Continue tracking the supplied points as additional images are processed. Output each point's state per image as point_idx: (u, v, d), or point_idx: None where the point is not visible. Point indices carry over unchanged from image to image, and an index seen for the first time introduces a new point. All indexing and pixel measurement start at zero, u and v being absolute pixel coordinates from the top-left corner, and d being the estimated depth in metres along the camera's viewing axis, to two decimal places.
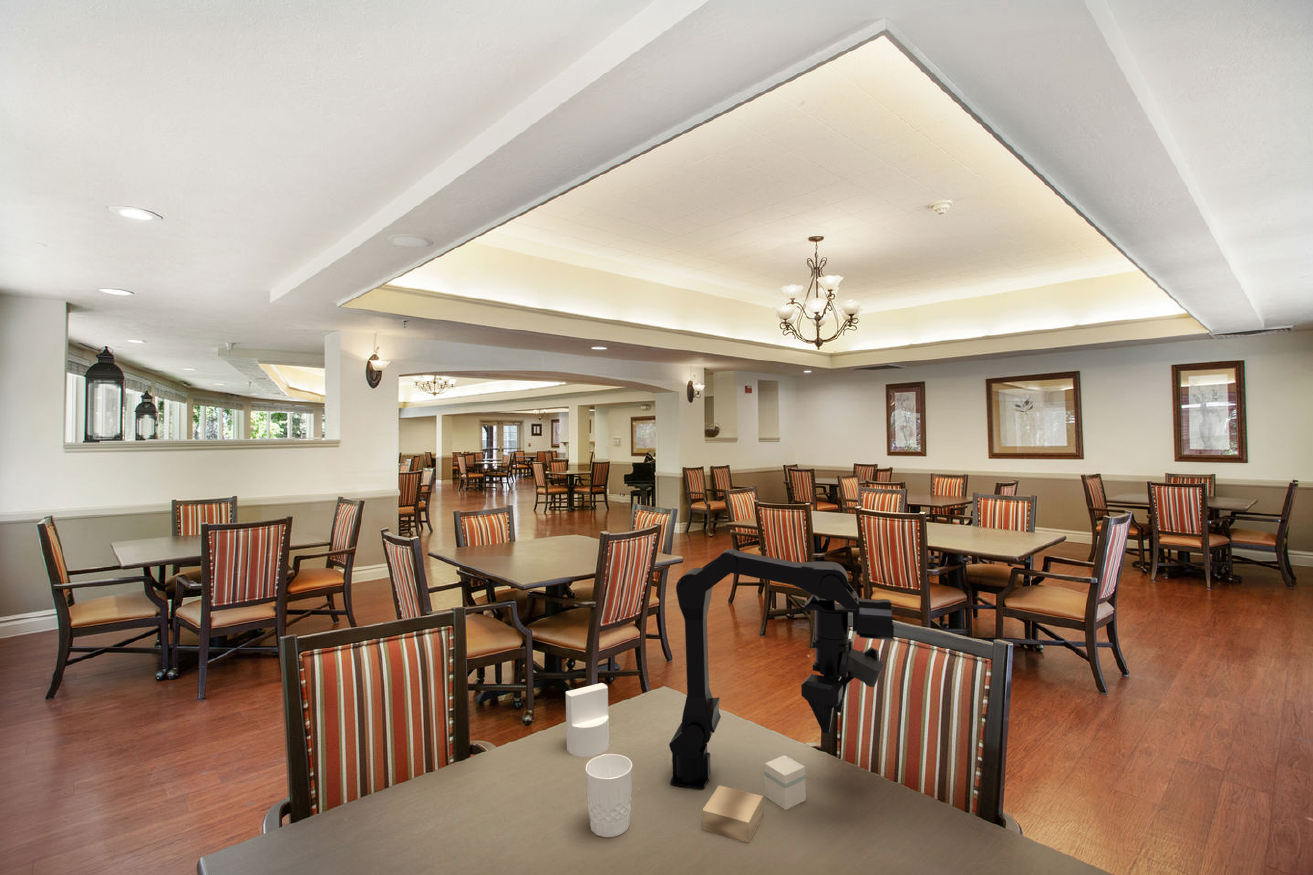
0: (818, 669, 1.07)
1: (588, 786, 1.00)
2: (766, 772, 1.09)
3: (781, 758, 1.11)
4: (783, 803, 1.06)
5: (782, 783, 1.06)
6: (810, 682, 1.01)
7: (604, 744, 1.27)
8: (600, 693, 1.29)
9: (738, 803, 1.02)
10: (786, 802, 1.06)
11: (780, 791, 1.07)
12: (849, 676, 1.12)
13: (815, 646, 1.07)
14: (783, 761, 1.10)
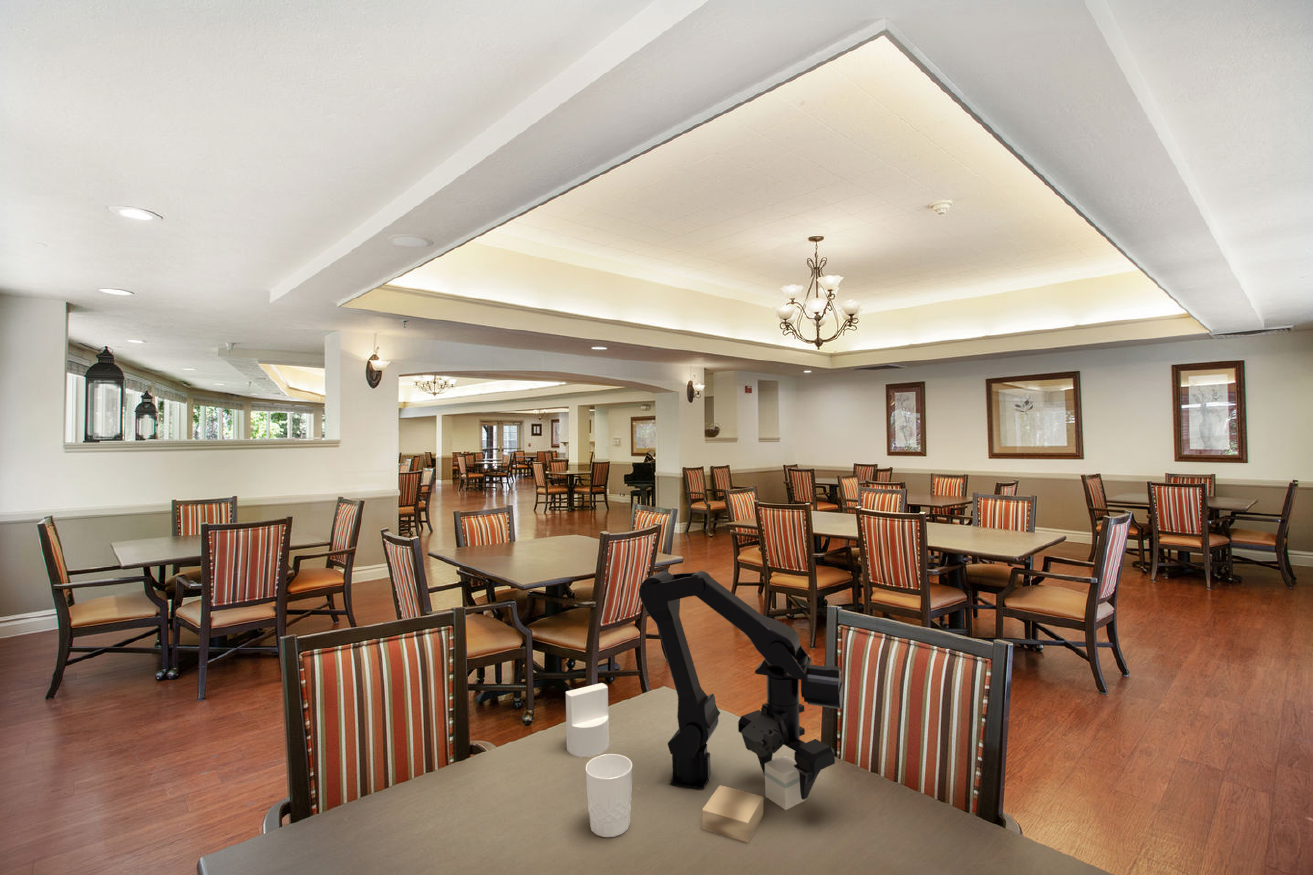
0: None
1: (588, 786, 1.00)
2: (766, 772, 1.09)
3: (781, 758, 1.11)
4: (783, 803, 1.06)
5: (782, 783, 1.06)
6: (755, 711, 1.17)
7: (604, 744, 1.27)
8: (600, 693, 1.29)
9: (738, 803, 1.02)
10: (785, 802, 1.06)
11: (780, 791, 1.07)
12: None
13: None
14: (783, 761, 1.10)
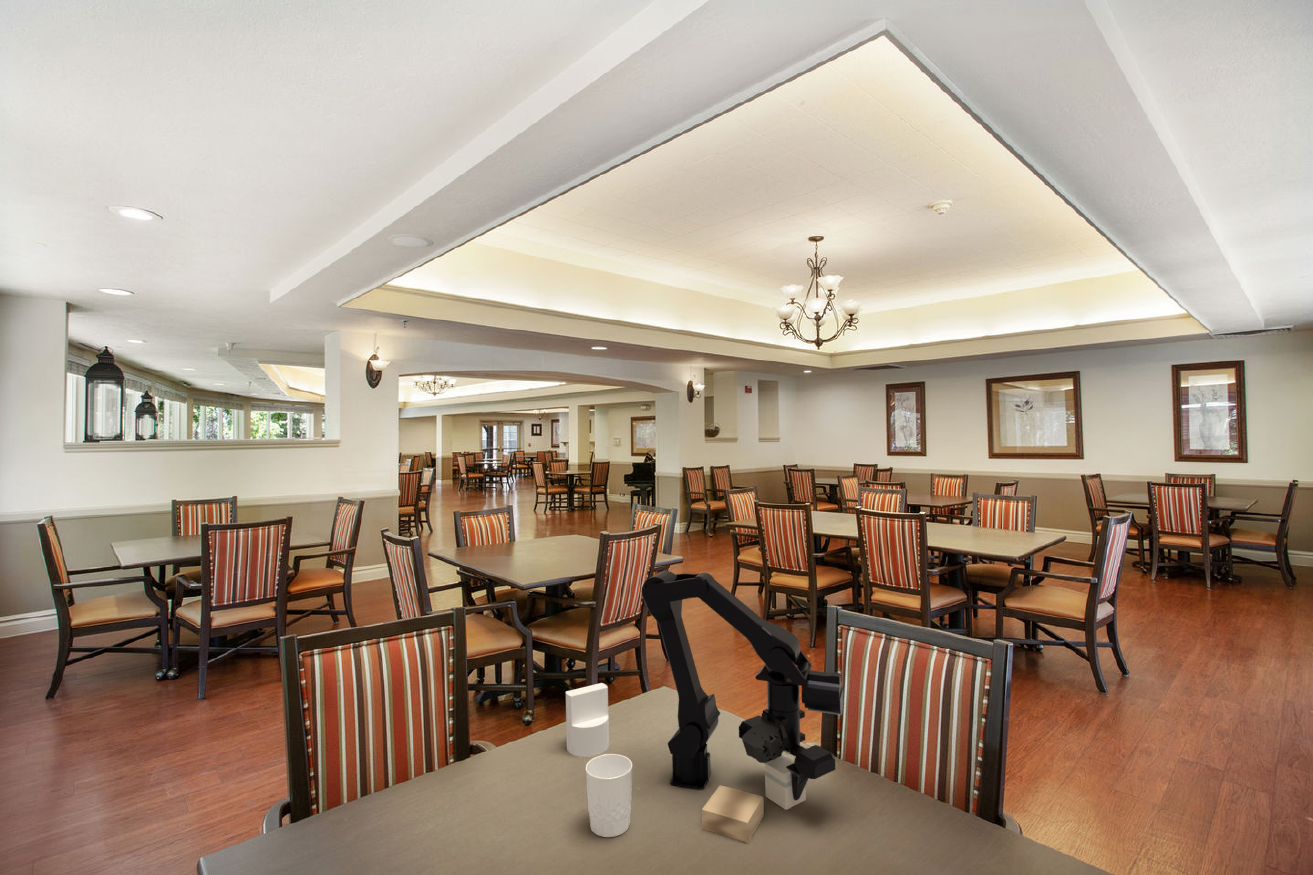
0: None
1: (588, 786, 1.00)
2: (766, 772, 1.09)
3: (781, 758, 1.11)
4: (783, 803, 1.06)
5: (782, 783, 1.06)
6: None
7: (604, 744, 1.27)
8: (600, 693, 1.29)
9: (738, 803, 1.02)
10: (786, 802, 1.06)
11: (780, 791, 1.07)
12: None
13: None
14: (783, 760, 1.10)
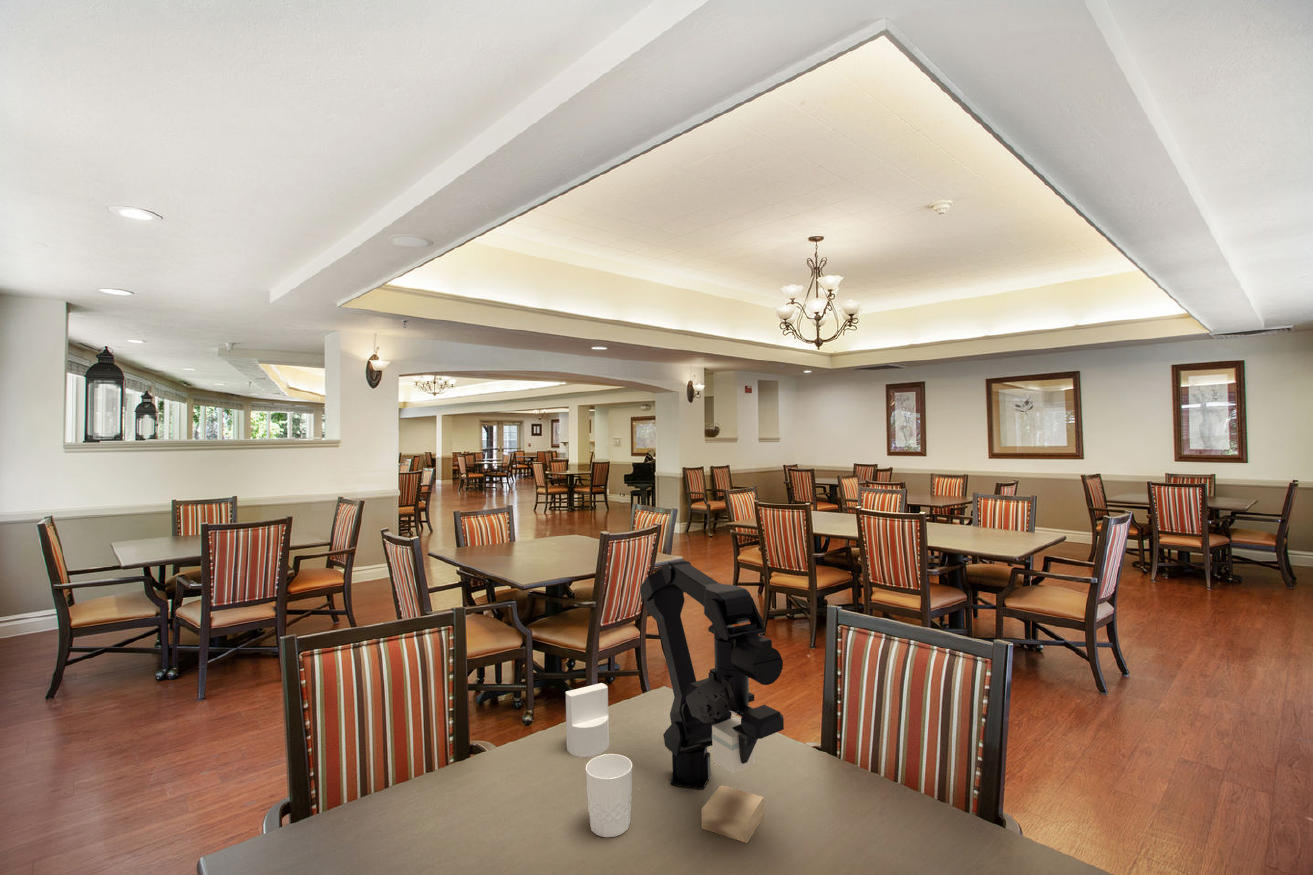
0: None
1: (588, 786, 1.00)
2: (713, 735, 1.03)
3: (730, 720, 1.05)
4: (730, 766, 1.00)
5: (729, 745, 1.00)
6: (705, 679, 1.11)
7: (604, 744, 1.27)
8: (600, 693, 1.29)
9: (738, 803, 1.02)
10: (732, 765, 0.99)
11: (727, 754, 1.00)
12: None
13: None
14: (731, 723, 1.04)
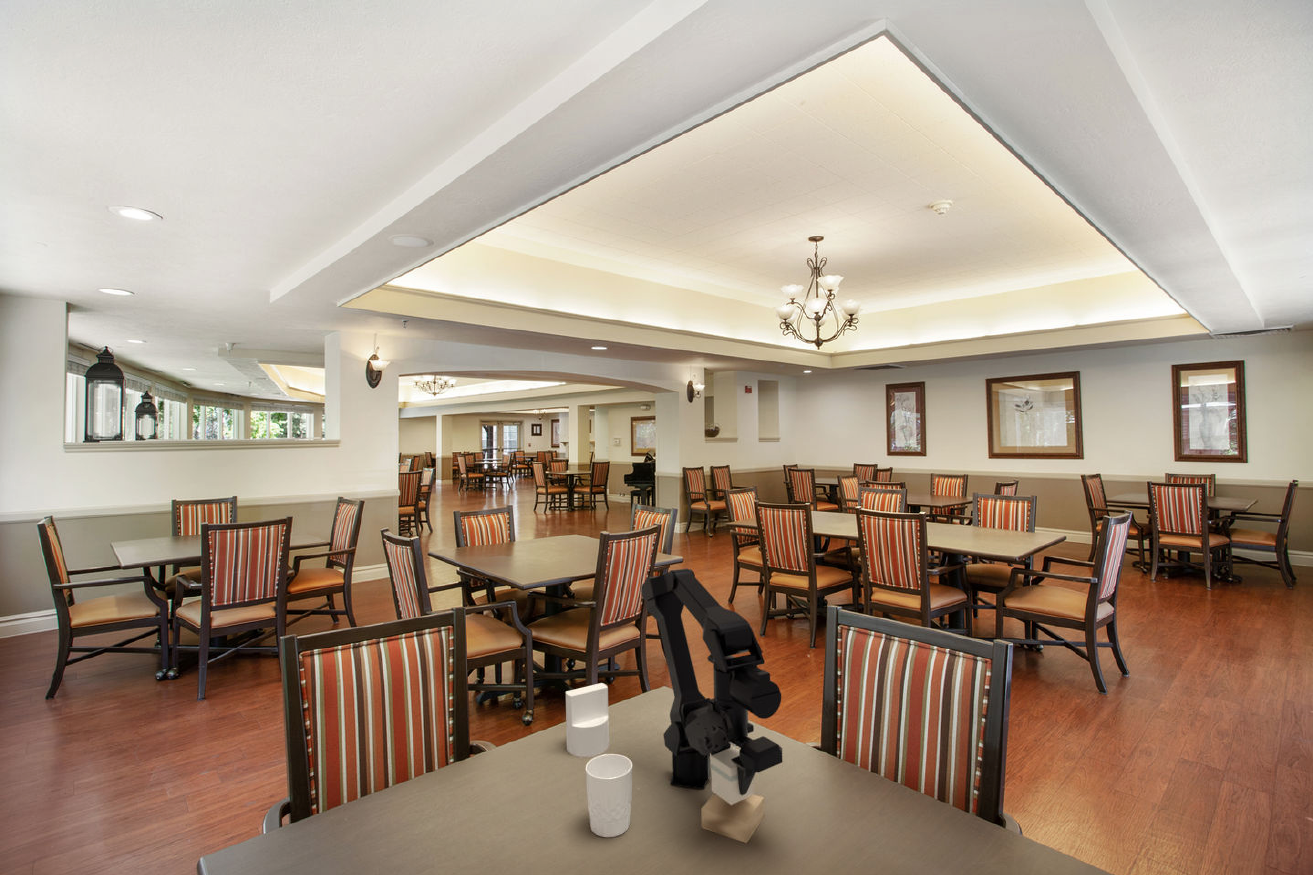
0: None
1: (588, 786, 1.00)
2: (712, 765, 1.03)
3: (729, 750, 1.05)
4: (728, 797, 1.00)
5: (727, 776, 1.00)
6: (705, 706, 1.11)
7: (604, 744, 1.27)
8: (600, 693, 1.29)
9: (738, 804, 1.02)
10: (731, 796, 0.99)
11: (725, 785, 1.00)
12: None
13: None
14: (731, 753, 1.04)
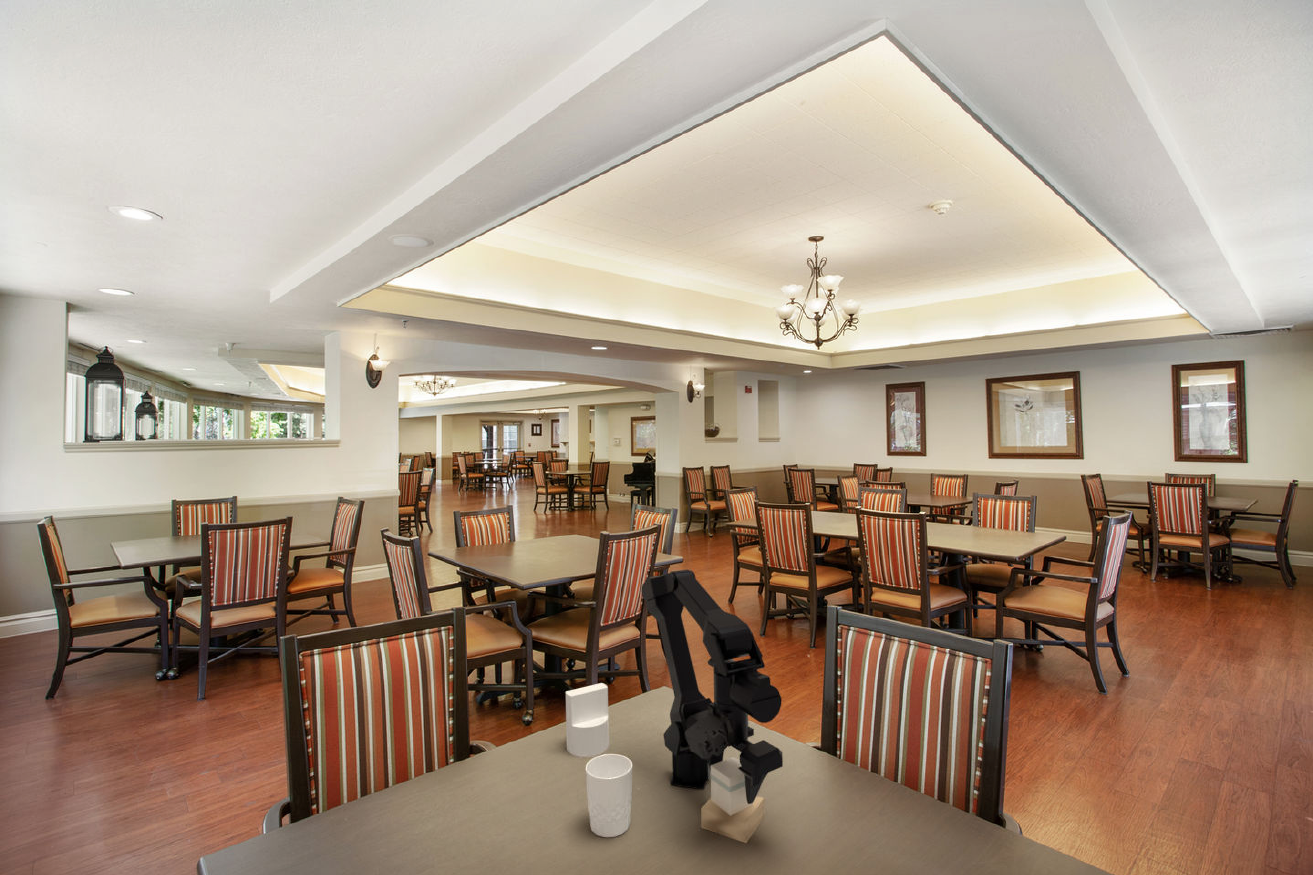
0: None
1: (588, 786, 1.00)
2: (712, 775, 1.03)
3: (729, 760, 1.05)
4: (728, 808, 1.00)
5: (727, 787, 1.00)
6: (705, 710, 1.11)
7: (604, 744, 1.27)
8: (600, 693, 1.29)
9: None
10: (730, 807, 0.99)
11: (725, 796, 1.00)
12: None
13: None
14: (730, 763, 1.04)
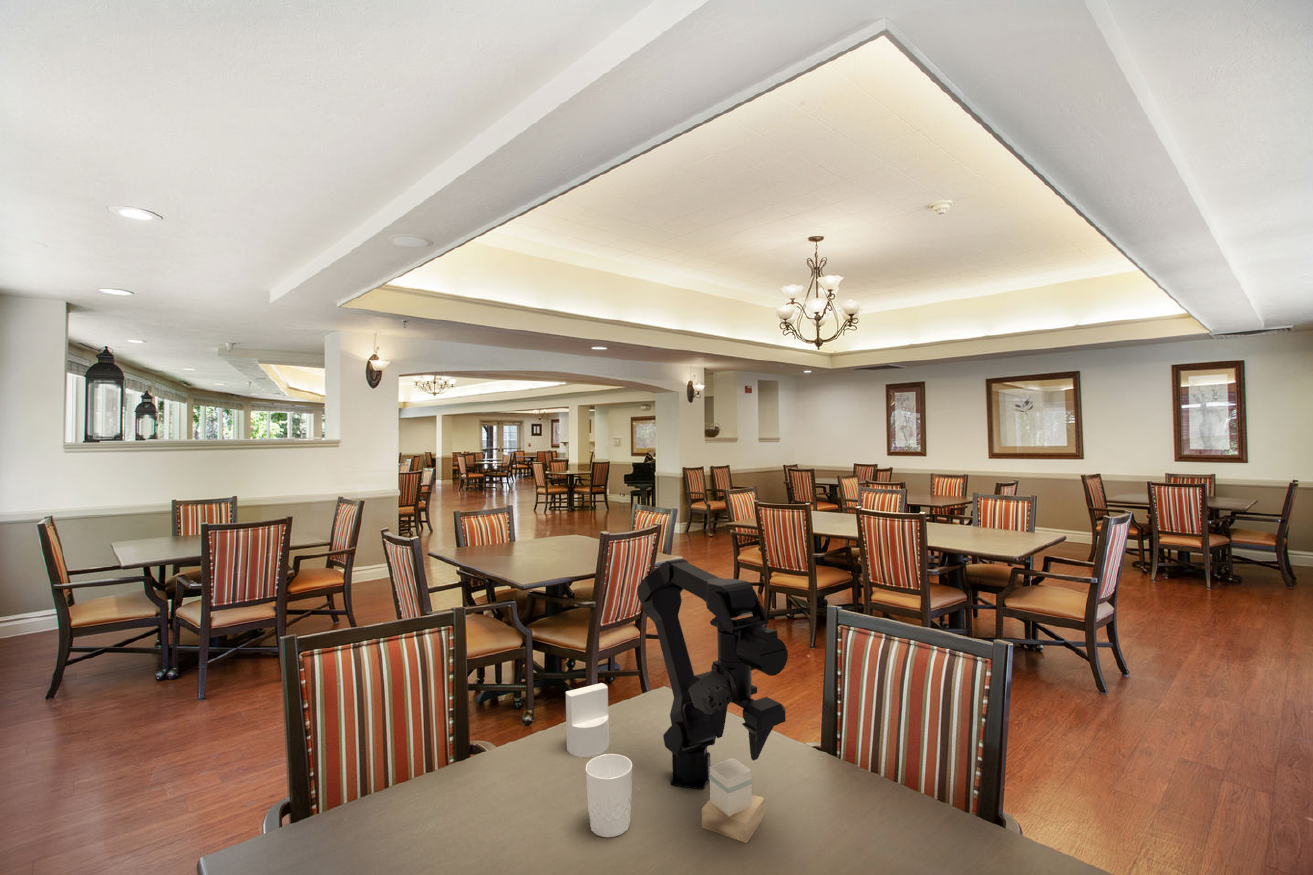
0: None
1: (588, 786, 1.00)
2: (710, 775, 1.03)
3: (728, 761, 1.05)
4: (726, 809, 0.99)
5: (725, 788, 1.00)
6: (709, 671, 1.12)
7: (604, 744, 1.27)
8: (600, 693, 1.29)
9: None
10: (729, 808, 0.99)
11: (723, 797, 1.00)
12: None
13: None
14: (729, 764, 1.04)
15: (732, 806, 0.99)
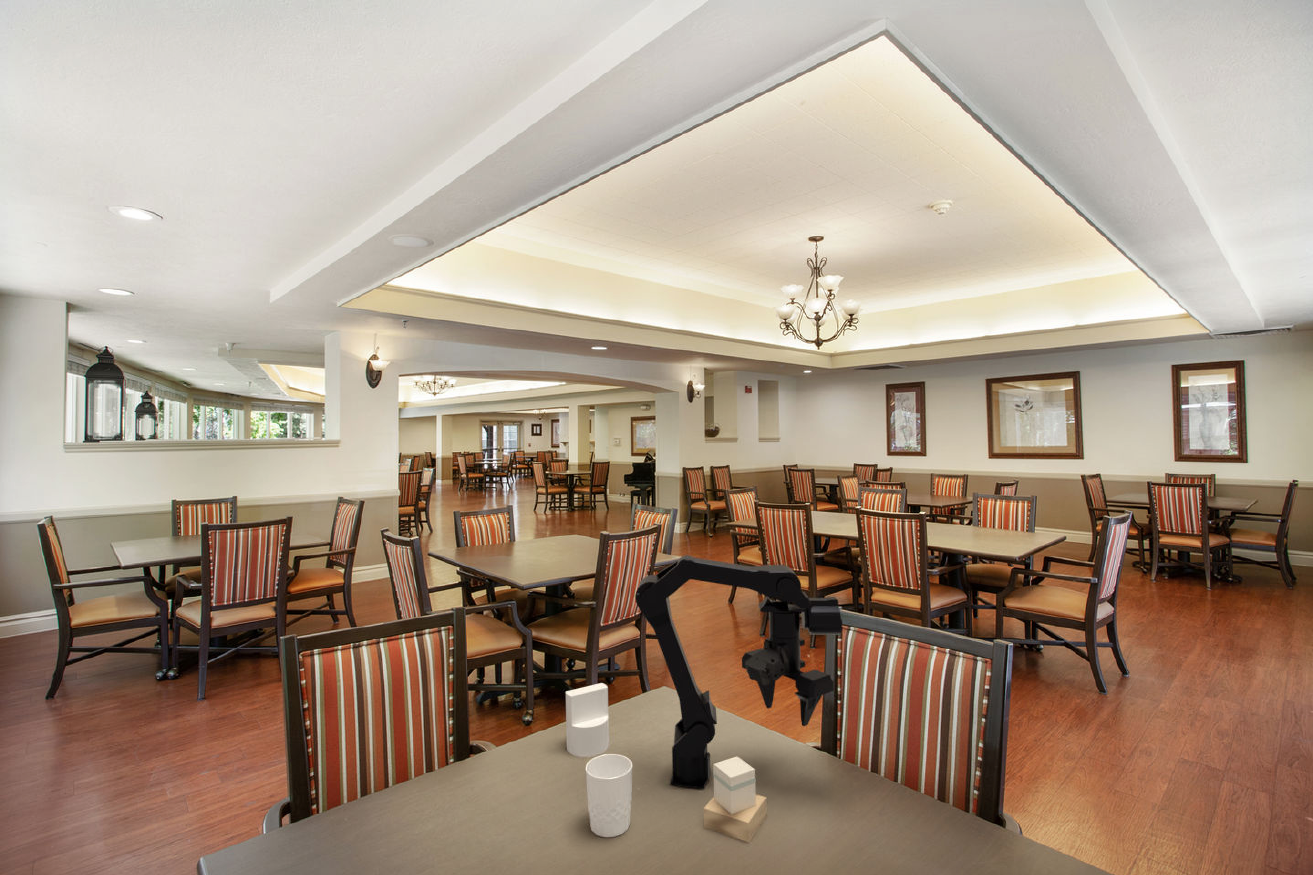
0: None
1: (588, 786, 1.00)
2: (714, 773, 1.03)
3: (732, 759, 1.05)
4: (729, 807, 1.00)
5: (728, 785, 1.00)
6: (757, 649, 1.23)
7: (604, 744, 1.27)
8: (600, 693, 1.29)
9: None
10: (731, 806, 0.99)
11: (726, 794, 1.01)
12: None
13: None
14: (733, 762, 1.04)
15: (735, 804, 1.00)
